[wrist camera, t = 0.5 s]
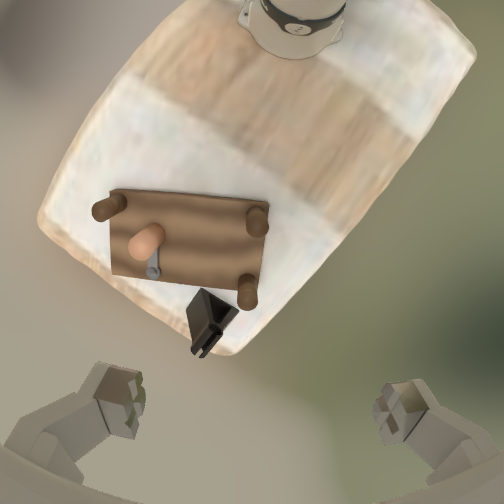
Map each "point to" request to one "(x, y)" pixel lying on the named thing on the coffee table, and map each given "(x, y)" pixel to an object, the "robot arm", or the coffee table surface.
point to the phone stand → (208, 320)
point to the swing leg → (148, 248)
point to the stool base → (190, 238)
